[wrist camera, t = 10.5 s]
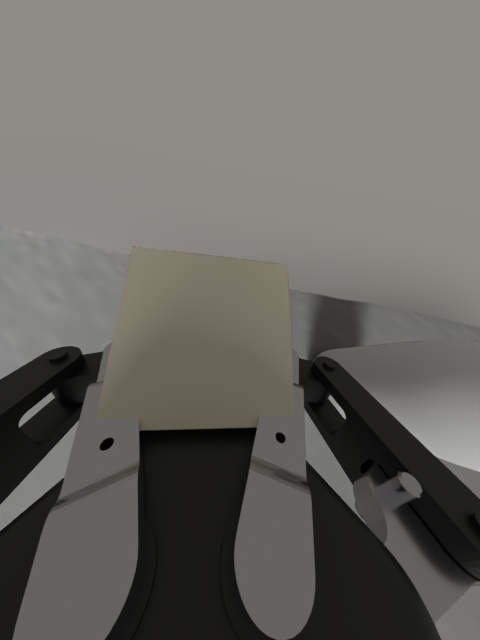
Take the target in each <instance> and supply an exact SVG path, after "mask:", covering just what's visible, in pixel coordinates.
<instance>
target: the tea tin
mask: <svg viewBox="0 0 480 640" xmlns="http://www.w3.org/2000/svg"><path fill="white" fill-rule="evenodd" d="M288 281H289V280H288V265H287V264H279V263H271V262H262V261H254V260H245V259H236V258H228V257H220V256H211V255H202V254H193V253H185V252H176V251H168V250H159V249H150V248H142V247H134V246H133V247H132V250H131V254H130V259H129V264H128V269H127V273H126V278H125V283H124V288H123V292H122V297H121V302H120V306H119V311H118V316H117V321H116V325H115V330H114V335H113V340H112V344H111V349H110V354H109V359H108V363H107V368H106V373H105V377H104V382H103V387H102V392H101V396H100V401H99V406H98V411H97V415H96V419H127V418H139V424H140V430H177V429H216V428H254V427H257V425H258V421H259V417H260V416H295V412H294V390H293V368H292V346H291V324H290V302H289V282H288Z"/></svg>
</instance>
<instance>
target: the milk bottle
mask: <svg viewBox="0 0 480 640" xmlns="http://www.w3.org/2000/svg"><path fill="white" fill-rule="evenodd" d="M319 356H325V357H329V358H331V359H333V360H335V361H336V362H338V363H339V364H340V365H341V366H342V367H343V368H344V369H345V370H346V371H347V372H348V373H349V374H350V375H351V376H352V377H353V378H354V379H355V380H356V381H358V382H359V383H360V384H361V385H362V386H363V387H364V388H365V389H366V390H367V391H368V392H369V393H370V394H371V395H372V396H373V397H374V398H375V399H376V400H377V401H378V402H379V403H380V404H381V405H382V406H383V407H385V408H386V409H387V410H388V411H389V412H390V413H391V414H392V415H393V416H394V417H395V418H396V419H397V420H398V421H399V422H400V423H401V424H402V425H403V426H404V427H405V428H406V429H407V430H408V431H409V432H410V433H411V434H413V435H414V436H415V437H416V438H417V439H418V440H419V441H420V442H421V443H422V444H423V445H424V446H425V447H426V448H427V449H428V450H429V451H430V452H431V453H432V454H433V455H434V456H436V457H438V458H441V459H443V460H446V461H449V462H451V463H454V464H457V465H460V466H463V467H466V468H469V469H473V470H476V471H479V472H480V343H477V342H467V341H441V340H436V341H419V342H403V343H392V344H381V345H370V346H360V347H349V348H340V349H332V350H327V351H324V352H322V353H320V354H319V355H318V356H317V357H319ZM314 360H315V359H314ZM314 360H313V362H314ZM328 399H329V400H330V401H331V402H332V404H333V405H334V406H335V408H336V409H337V410H338V411H339V413H340V414H341V415H342V416H343V418H345V419H346V416H345V413H344V411H343V410H342V408H341V407H340V406H339V405H338V403H337V402H336V401H335V400H334V398H333V397H332V396H331V395H330V396H329V398H328Z"/></svg>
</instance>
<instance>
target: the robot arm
mask: <svg viewBox="0 0 480 640" xmlns="http://www.w3.org/2000/svg"><path fill="white" fill-rule="evenodd" d="M111 344H112V343H110V344H109V345H108V346H106V347H105V349H104V351H103V352H98V353H92V354H85V355H83V354H82V352H81V350H80V349H79V348H77V347H73V346H67V347H60V348H56V349H53V350H51V351H48V352H46V353H44V354H42V355H41V356H39V357H37V358H36V359H34V360H32V361H31V362H29V363H27V364H26V365H24V366H22V367H21V368H19V369H17V370H16V371H14V372H12V373H11V374H9V375H7V376H6V377H4V378H2V379H1V380H0V504H1V503H2V502H3V501H4V500H5V499H6V498H7V497H8V496H9V495H10V494H11V492H12V491H13V490H14V489H15V488H16V487H17V486H18V485H19V484H20V483H21V482H22V481H23V480H24V478H25V477H26V476H27V475H28V474H29V473H30V472H31V471H32V470H33V469H34V468H35V467H36V466H37V464H38V463H39V462H40V461H41V460H42V459H43V458H44V457H45V456H46V455H47V454H48V453H49V452H50V450H51V449H52V448H53V447H54V446H55V445H56V444H57V443H58V442H59V441H60V440H61V439H62V438H63V436H64V435H65V434H66V433H67V432H68V431H69V430H70V429H71V428H72V427H73V426H74V425H75V424H76V422H77V421H78V420H79V423H78V427H77V431H76V435H75V439H74V442H73V446H72V450H71V454H70V458H69V462H68V466H67V470H66V474H65V477H64V478H63V479H62V480H61V481H59V482H58V483H57V484H56V485H55V486H54V487H52V488H51V489H50V490H49V491H48V492H46V493H45V494H44V495H43V496H42V497H40V498H39V499H38V500H37V501H36V502H34V503H33V504H32V505H31V506H30V507H29V508H27V509H26V510H25V511H24V512H23V513H21V514H20V515H19V516H18V517H17V518H15V519H14V520H13V521H12V522H11V523H10V524H8V525H7V526H6V527H5V528H4V529H2V530H1V531H0V640H441V638H440V636H439V634H438V631H437V629H436V627H435V624H434V623H435V622H436V621H437V620H438V619H439V618H440V617H441V616H442V615H443V614H444V613H445V612H446V611H447V610H448V609H449V608H450V607H451V606H452V605H453V604H454V603H455V602H456V601H457V600H458V599H459V598H460V597H461V596H462V595H463V594H464V593H465V592H466V591H467V590H468V589H469V588H470V587H471V586H480V499H479V498H478V497H477V496H476V495H475V494H474V493H473V492H472V491H471V490H470V489H469V488H468V487H466V486H465V485H464V484H463V483H462V482H461V481H460V480H459V479H458V478H457V477H456V476H455V475H454V474H453V473H452V472H451V471H450V470H449V469H448V468H447V467H446V466H445V465H444V464H443V463H442V462H441V461H440V460H438V459H437V458H436V457H435V456H434V455H433V454H432V453H431V452H430V451H429V450H428V449H427V448H426V447H425V446H424V445H423V444H422V443H421V442H420V441H419V440H418V439H417V438H416V437H415V436H414V435H413V434H411V433H410V432H409V431H408V430H407V429H406V428H405V427H404V426H403V425H402V424H401V423H400V422H399V421H398V420H397V419H396V418H395V417H394V416H393V415H392V414H391V413H390V412H389V411H388V410H387V409H386V408H385V407H383V406H382V405H381V404H380V403H379V402H378V401H377V400H376V399H375V398H374V397H373V396H372V395H371V394H370V393H369V392H368V391H367V390H366V389H365V388H364V387H363V386H362V385H361V384H360V383H359V382H358V381H356V380H355V379H354V378H353V377H352V376H351V375H350V374H349V373H348V372H347V371H346V370H345V369H344V368H343V367H342V366H341V365H340V364H339V363H338V362H336V361H335V360H333V359H331V358H329V357H325V356H319V357H316V358H315V360H314V362H311V361H307V360H304V359H301V358H299V356H298V354H297V353H296V352H295V351H294V350H293V349H292V368H293V390H294V412H295V416H260V417H259V421H258V425H257V427H254V428H216V429H177V430H140V424H139V418H127V419H96V415H97V411H98V406H99V401H100V396H101V392H102V387H103V382H104V377H105V373H106V368H107V363H108V359H109V354H110V349H111ZM51 392H52V394H53V395H54V397H55V398H54V399H53V400H52V401H51V402H49V403H48V404H47V405H46V406H45V407H44V408H42V409H41V410H40V411H39V412H38V413H36V414H35V415H34V416H33V417H32V418H31V419H29V420H28V421H27V422H26V423H25V424H23V425H22V426H21V427H20V428H19V426H18V425H19V421H20V419H21V417H22V416H23V415H24V414H25V413H26V412H27V411H28V410H29V409H31V408H32V407H33V406H34V405H36V404H37V403H38V402H39V401H41V400H42V399H43V398H44V397H46V396H47V395H48V394H49V393H51ZM330 395H331V396H332V397H333V398H334V400H335V401H336V402H337V403H338V405H339V406H340V407H341V408H342V410H343V411H344V413H345V416H346V420H345V419H344V418H343V416H342V415H341V414H340V413H339V411H338V410H337V409H336V408H335V406H334V405H333V404H332V402H331V401H330V400H329V399H328V398H329V396H330ZM304 408H305V410H306V411H307V413H308V415H309V416H310V418H311V419H312V421H313V422H314V424H315V426H316V427H317V429H318V430H319V432H320V434H321V435H322V437H323V438H324V440H325V441H326V443H327V445H328V446H329V448H330V449H331V451H332V453H333V454H334V456H335V457H336V459H337V460H338V462H339V464H340V465H341V467H342V468H343V470H344V472H345V473H346V475H347V476H348V478H349V479H350V481H351V483H352V484H353V493H354V497H355V500H356V501H355V507H356V510H357V512H358V514H359V515H360V517H361V518H362V519H363V520H365V523H366V524H365V523H364V522H363V521H362V520H361V519H360V518H359V517H358V516H357V515H356V514H355V513H354V512H353V510H352V509H351V508H350V507H349V506H348V505H347V504H346V503H345V502H344V501H343V500H342V499H341V497H340V496H339V495H338V494H337V493H336V492H335V491H334V490H333V489H332V488H331V487H330V486H329V485H328V483H327V482H326V481H325V480H324V479H323V478H322V477H321V476H320V475H319V474H318V473H317V472H316V471H315V469H314V468H313V467H312V466H311V465H310V464H309V463H308V462H307V461H306V452H305V420H304Z"/></svg>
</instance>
